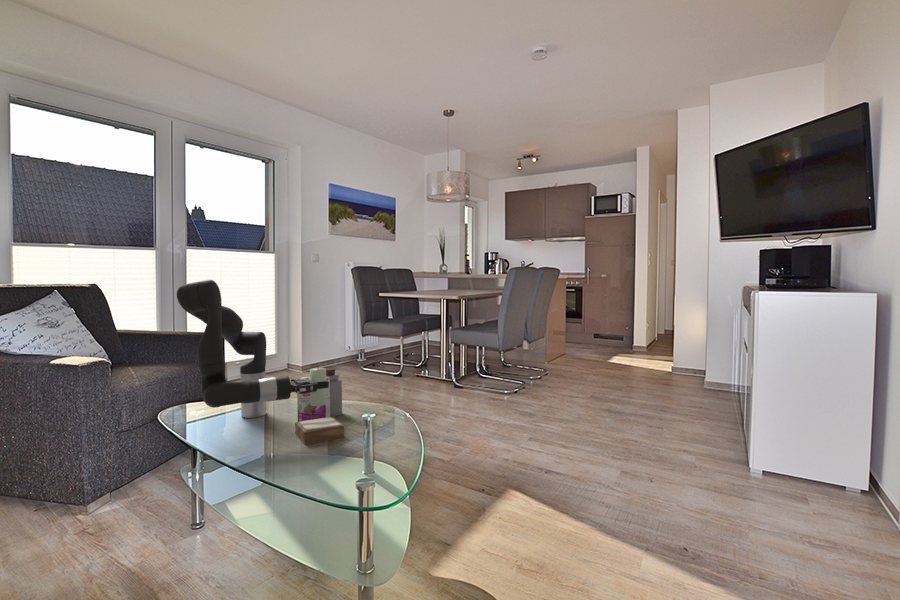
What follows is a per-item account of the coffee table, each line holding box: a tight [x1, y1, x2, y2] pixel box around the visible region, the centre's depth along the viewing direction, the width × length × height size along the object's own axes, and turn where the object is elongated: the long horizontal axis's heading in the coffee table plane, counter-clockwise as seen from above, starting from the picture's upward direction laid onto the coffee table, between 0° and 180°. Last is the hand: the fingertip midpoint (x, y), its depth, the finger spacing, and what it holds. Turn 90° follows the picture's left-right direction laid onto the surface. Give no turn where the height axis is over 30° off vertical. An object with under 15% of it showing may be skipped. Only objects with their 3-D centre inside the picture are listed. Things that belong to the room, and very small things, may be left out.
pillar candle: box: [309, 367, 327, 406], centre depth 154 cm, size 5×5×13 cm
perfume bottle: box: [326, 367, 343, 417], centre depth 180 cm, size 7×7×18 cm
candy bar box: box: [296, 376, 330, 422], centre depth 171 cm, size 11×5×16 cm, turn 84°
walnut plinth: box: [294, 416, 345, 446], centre depth 154 cm, size 13×13×4 cm
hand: (325, 382), depth 155 cm, fingers closed on pillar candle, 5 cm apart
